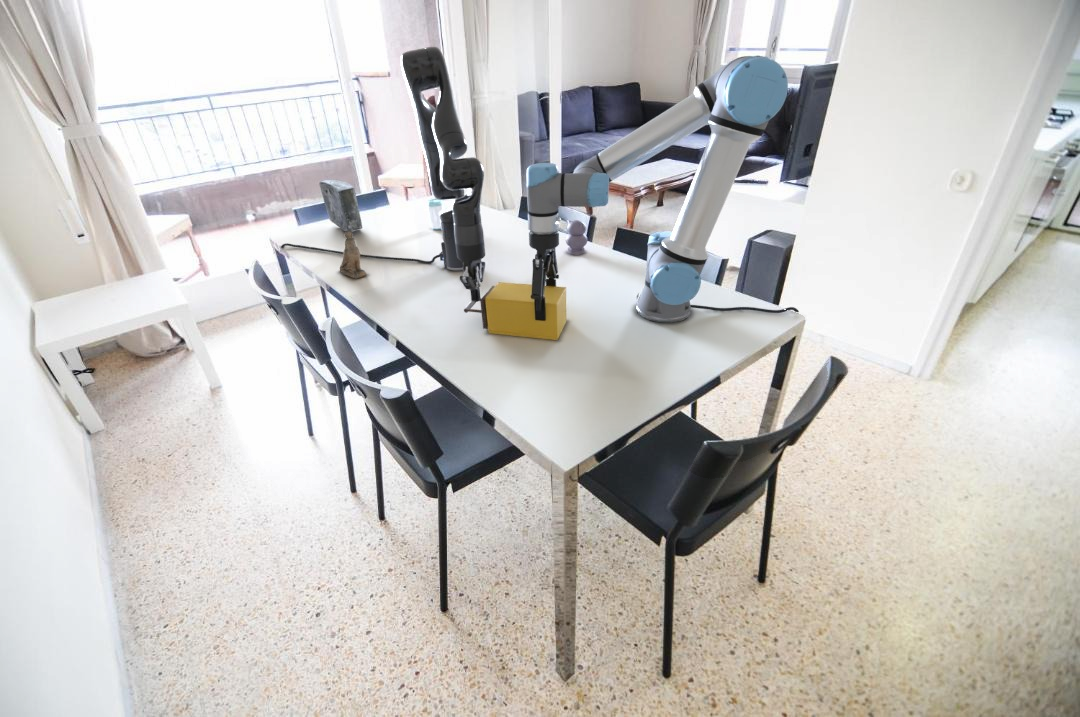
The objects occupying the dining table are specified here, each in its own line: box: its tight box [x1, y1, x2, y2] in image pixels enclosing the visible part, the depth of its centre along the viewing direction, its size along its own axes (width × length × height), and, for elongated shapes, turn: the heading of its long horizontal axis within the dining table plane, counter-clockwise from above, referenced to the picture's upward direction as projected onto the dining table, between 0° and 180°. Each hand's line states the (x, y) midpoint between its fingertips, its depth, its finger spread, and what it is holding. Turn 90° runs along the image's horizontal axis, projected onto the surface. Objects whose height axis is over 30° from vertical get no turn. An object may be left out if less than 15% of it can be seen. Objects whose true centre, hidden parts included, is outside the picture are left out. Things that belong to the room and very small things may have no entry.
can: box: [426, 198, 445, 230], centre depth 220 cm, size 7×7×12 cm
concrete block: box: [318, 178, 363, 233], centre depth 220 cm, size 27×9×20 cm, turn 36°
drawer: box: [463, 285, 496, 330], centre depth 137 cm, size 24×10×9 cm, turn 75°
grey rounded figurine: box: [565, 219, 588, 256], centre depth 186 cm, size 8×8×12 cm
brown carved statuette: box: [339, 230, 367, 280], centre depth 174 cm, size 12×6×18 cm, turn 43°
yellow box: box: [485, 281, 567, 341], centre depth 136 cm, size 20×11×11 cm, turn 75°
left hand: (476, 300), depth 139 cm, fingers closed
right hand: (546, 310), depth 134 cm, fingers closed on yellow box, 11 cm apart
